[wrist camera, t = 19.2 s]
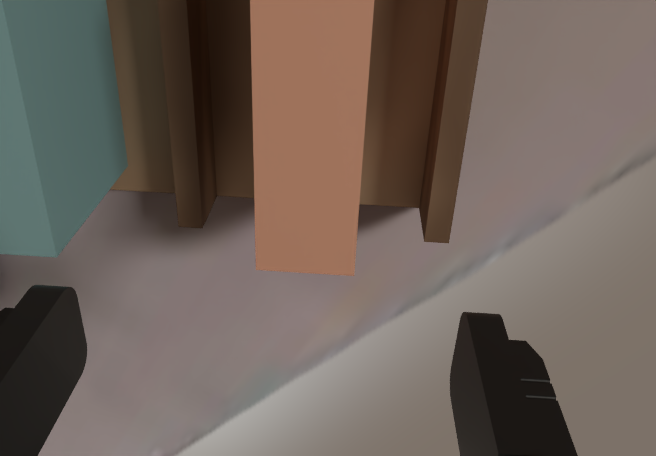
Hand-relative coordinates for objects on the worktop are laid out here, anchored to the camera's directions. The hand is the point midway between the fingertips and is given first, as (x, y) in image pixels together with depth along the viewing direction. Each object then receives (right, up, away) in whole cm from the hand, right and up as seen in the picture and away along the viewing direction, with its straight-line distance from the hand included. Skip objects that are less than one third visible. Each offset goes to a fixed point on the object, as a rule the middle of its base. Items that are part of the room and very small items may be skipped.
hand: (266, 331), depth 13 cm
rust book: (+1, +10, +17) cm, 20 cm away
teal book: (-11, +11, +17) cm, 23 cm away
